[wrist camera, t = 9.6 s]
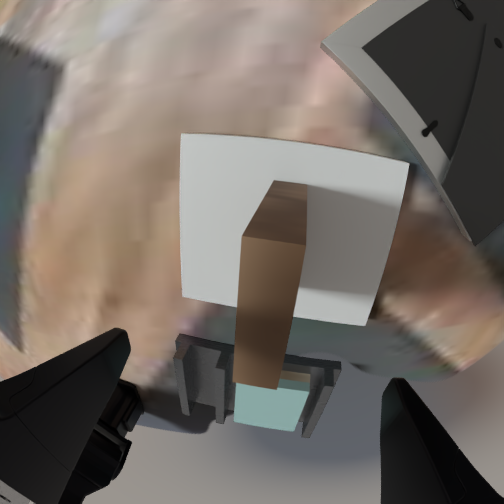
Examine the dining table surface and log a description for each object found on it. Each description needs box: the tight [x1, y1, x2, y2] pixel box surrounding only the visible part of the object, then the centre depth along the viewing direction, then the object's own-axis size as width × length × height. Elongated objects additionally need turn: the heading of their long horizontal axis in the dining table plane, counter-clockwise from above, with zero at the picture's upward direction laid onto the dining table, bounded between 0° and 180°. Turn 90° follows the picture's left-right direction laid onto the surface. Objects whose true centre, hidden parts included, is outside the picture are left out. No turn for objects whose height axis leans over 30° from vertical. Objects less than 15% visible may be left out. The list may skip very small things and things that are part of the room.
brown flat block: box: [233, 180, 307, 390], centre depth 15 cm, size 2×7×9 cm, turn 176°
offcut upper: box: [234, 379, 310, 432], centre depth 24 cm, size 6×7×1 cm
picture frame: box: [320, 0, 504, 246], centre depth 11 cm, size 16×3×21 cm
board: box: [180, 133, 409, 326], centre depth 19 cm, size 14×12×1 cm
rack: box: [173, 334, 341, 438], centre depth 25 cm, size 14×9×3 cm, turn 86°
